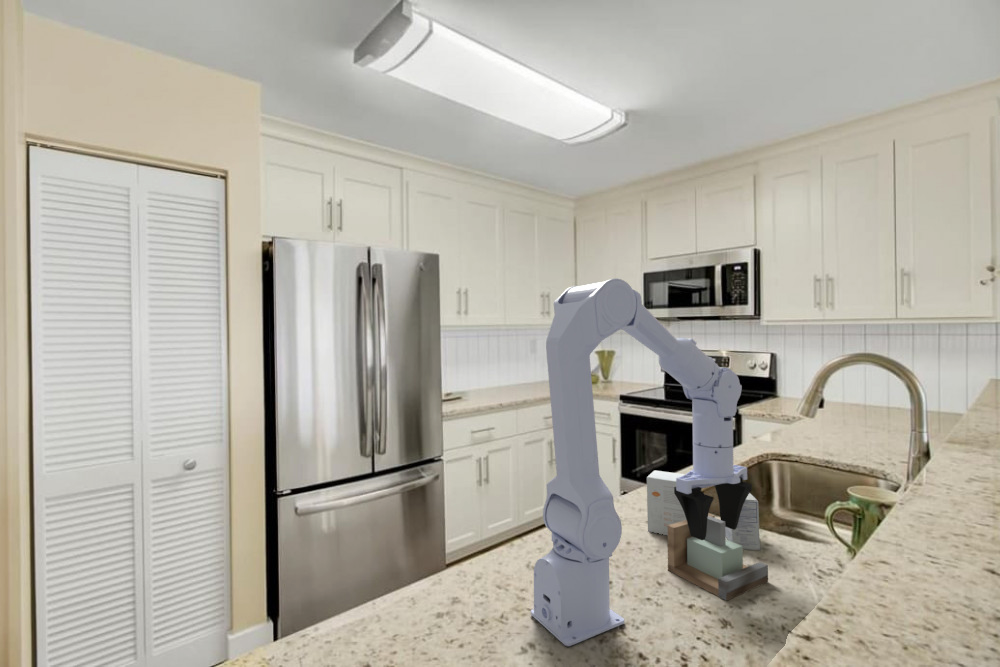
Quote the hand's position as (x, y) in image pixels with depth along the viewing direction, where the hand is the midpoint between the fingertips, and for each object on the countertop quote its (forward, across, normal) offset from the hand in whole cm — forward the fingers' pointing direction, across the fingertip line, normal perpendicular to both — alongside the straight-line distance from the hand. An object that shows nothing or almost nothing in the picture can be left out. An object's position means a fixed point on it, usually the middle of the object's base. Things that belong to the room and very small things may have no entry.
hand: (713, 532), depth 72 cm
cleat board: (+6, 0, 0) cm, 7 cm away
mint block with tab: (+6, 0, 0) cm, 6 cm away
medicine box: (+7, +15, +6) cm, 17 cm away
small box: (+7, +8, +15) cm, 18 cm away
